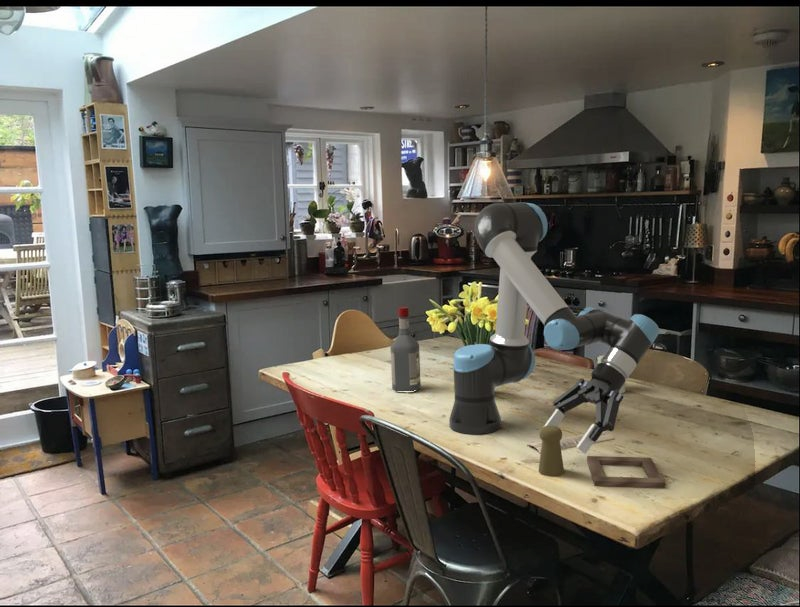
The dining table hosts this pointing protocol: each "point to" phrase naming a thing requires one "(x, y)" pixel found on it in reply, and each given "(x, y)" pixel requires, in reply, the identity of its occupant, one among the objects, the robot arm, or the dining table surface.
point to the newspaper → (574, 441)
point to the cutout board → (600, 480)
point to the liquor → (405, 357)
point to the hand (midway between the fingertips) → (562, 441)
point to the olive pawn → (551, 452)
